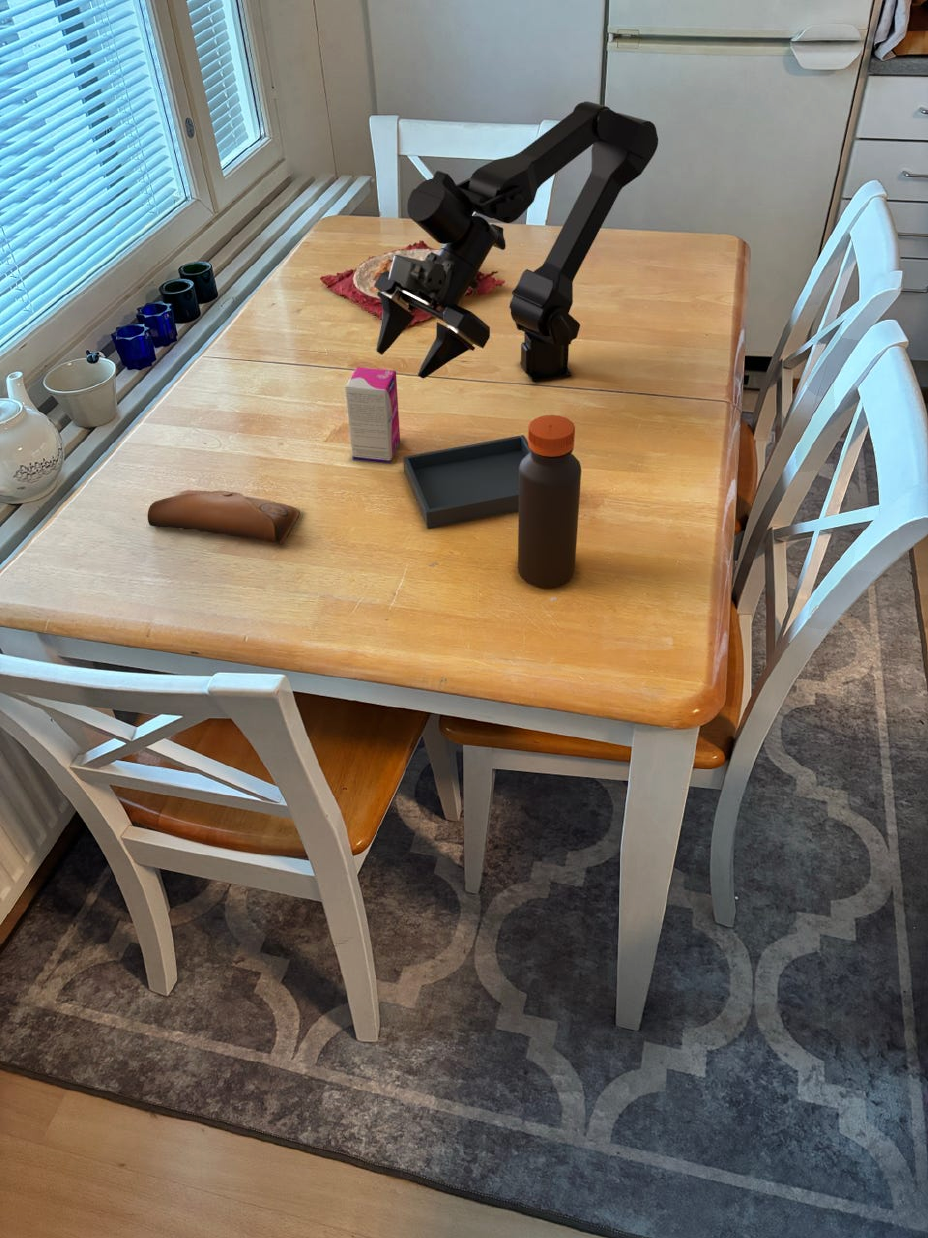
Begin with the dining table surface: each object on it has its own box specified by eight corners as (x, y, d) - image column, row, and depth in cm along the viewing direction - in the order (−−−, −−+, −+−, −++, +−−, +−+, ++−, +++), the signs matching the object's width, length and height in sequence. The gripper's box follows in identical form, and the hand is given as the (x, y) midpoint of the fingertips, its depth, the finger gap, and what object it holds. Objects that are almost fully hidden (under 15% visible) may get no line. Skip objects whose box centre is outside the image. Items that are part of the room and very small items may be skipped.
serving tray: (523, 450, 132) (523, 434, 131) (555, 504, 123) (556, 487, 121) (404, 472, 129) (402, 456, 128) (427, 529, 120) (426, 512, 118)
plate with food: (422, 249, 185) (421, 232, 183) (506, 288, 170) (505, 269, 167) (319, 286, 175) (316, 267, 173) (397, 330, 160) (395, 311, 157)
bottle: (581, 584, 111) (592, 438, 98) (526, 594, 110) (528, 448, 97) (565, 549, 116) (573, 405, 102) (511, 558, 115) (512, 414, 102)
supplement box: (392, 464, 131) (385, 390, 123) (351, 460, 132) (341, 386, 124) (402, 441, 135) (396, 368, 127) (362, 438, 136) (354, 365, 128)
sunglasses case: (303, 506, 123) (286, 484, 117) (290, 556, 122) (273, 537, 115) (178, 490, 127) (155, 468, 121) (164, 539, 125) (140, 519, 119)
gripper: (378, 209, 124) (320, 315, 127) (471, 250, 114) (405, 364, 116) (428, 252, 133) (372, 350, 136) (518, 293, 123) (456, 399, 125)
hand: (399, 364), depth 128 cm, fingers open, 9 cm apart
